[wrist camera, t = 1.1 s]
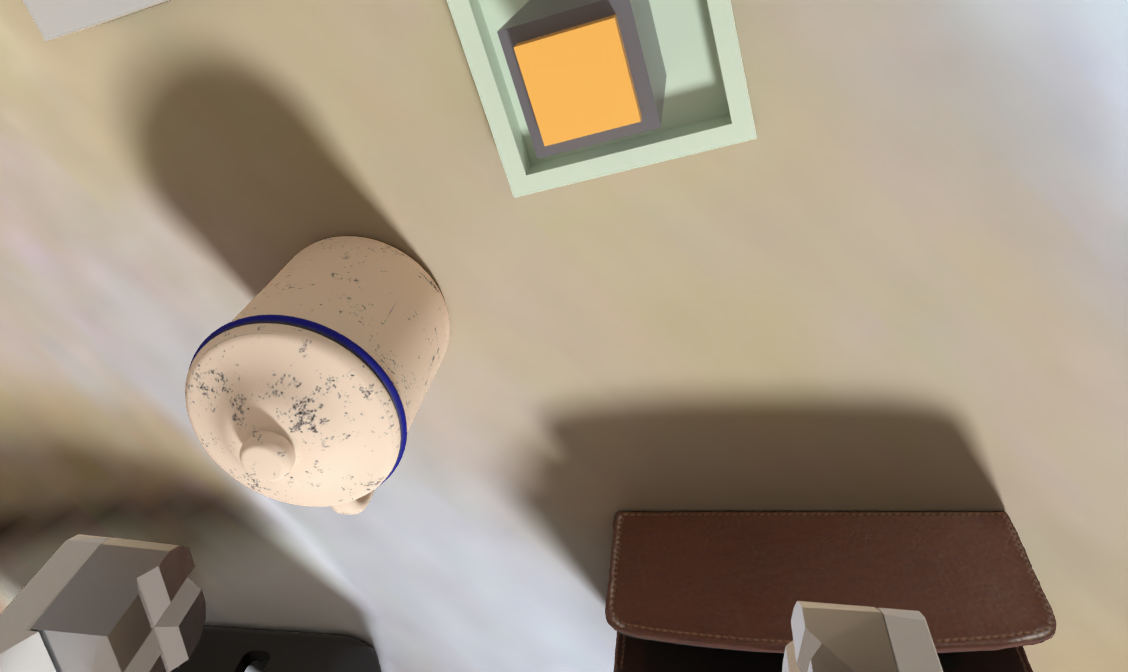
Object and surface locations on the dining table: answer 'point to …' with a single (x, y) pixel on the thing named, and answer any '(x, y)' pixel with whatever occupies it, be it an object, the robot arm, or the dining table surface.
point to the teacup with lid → (321, 374)
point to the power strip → (80, 13)
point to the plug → (585, 71)
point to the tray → (689, 125)
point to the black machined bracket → (278, 652)
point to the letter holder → (817, 585)
